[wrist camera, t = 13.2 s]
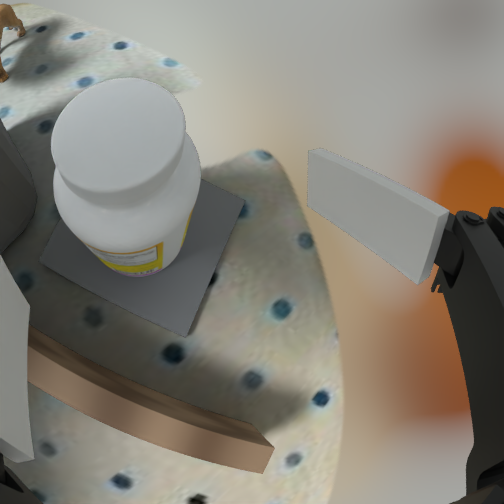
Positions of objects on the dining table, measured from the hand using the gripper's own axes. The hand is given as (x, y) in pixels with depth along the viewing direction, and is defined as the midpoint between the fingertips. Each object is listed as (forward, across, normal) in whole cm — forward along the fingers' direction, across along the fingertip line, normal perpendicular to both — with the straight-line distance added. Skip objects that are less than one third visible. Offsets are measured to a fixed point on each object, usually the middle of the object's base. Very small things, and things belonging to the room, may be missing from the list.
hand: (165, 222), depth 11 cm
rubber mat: (+10, 0, -6) cm, 11 cm away
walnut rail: (+3, -6, -12) cm, 14 cm away
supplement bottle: (+10, -1, -5) cm, 11 cm away
